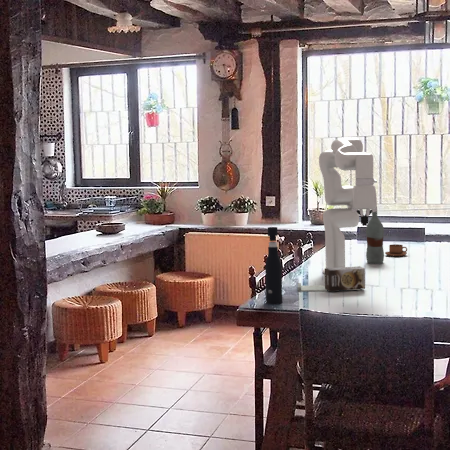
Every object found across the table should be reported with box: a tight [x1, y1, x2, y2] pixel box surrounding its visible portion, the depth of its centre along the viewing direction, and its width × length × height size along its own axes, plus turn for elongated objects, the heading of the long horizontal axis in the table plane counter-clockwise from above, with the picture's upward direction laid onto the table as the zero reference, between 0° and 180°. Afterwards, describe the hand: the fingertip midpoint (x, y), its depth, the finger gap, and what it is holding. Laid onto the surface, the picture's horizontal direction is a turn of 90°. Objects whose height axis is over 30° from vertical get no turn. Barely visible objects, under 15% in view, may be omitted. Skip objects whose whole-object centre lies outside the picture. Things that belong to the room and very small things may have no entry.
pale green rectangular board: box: [297, 282, 361, 292], centre depth 302 cm, size 10×26×2 cm, turn 85°
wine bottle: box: [264, 226, 283, 305], centre depth 276 cm, size 6×6×30 cm
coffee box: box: [324, 265, 366, 292], centre depth 297 cm, size 9×6×16 cm
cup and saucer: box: [384, 243, 408, 257], centre depth 393 cm, size 12×12×6 cm
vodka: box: [365, 210, 385, 265], centre depth 369 cm, size 9×9×30 cm
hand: (364, 225), depth 298 cm, fingers closed
